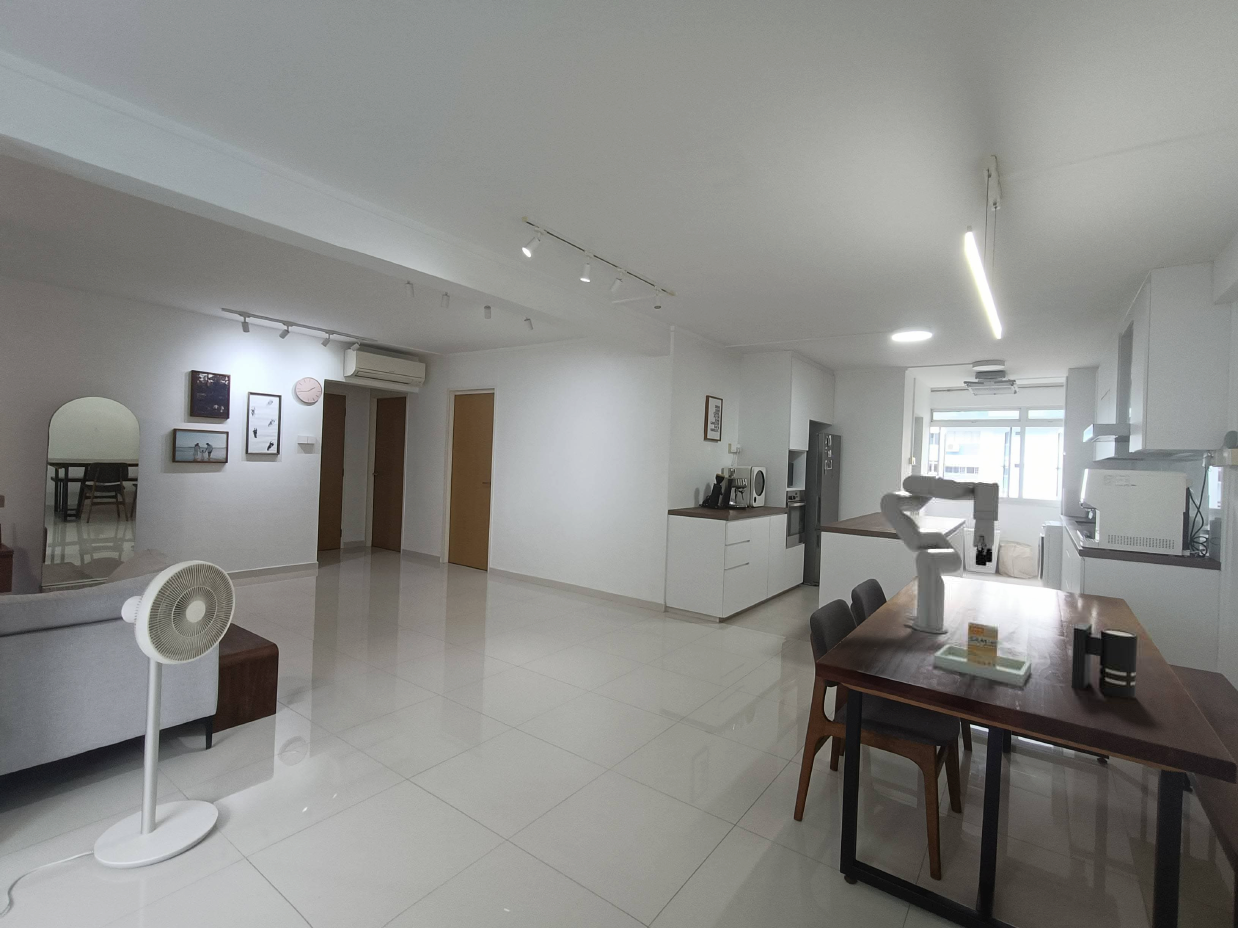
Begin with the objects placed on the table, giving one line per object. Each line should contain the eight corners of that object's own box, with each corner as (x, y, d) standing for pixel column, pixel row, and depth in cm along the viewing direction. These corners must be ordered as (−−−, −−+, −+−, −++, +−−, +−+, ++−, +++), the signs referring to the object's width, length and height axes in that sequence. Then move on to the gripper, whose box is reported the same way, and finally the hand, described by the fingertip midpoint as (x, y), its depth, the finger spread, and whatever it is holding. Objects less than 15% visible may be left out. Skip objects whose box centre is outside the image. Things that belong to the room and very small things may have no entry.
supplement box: (966, 665, 189) (967, 624, 189) (966, 660, 193) (968, 621, 193) (996, 670, 185) (998, 629, 184) (996, 666, 189) (997, 625, 188)
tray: (933, 665, 191) (934, 654, 191) (946, 654, 203) (947, 643, 203) (1022, 686, 175) (1022, 674, 175) (1030, 672, 186) (1031, 661, 186)
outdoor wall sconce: (1132, 702, 165) (1134, 639, 165) (1071, 687, 175) (1073, 627, 175) (1137, 693, 172) (1139, 632, 171) (1078, 679, 182) (1080, 621, 182)
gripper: (978, 513, 219) (977, 559, 219) (967, 516, 206) (966, 565, 206) (1002, 515, 213) (1001, 562, 214) (992, 518, 201) (991, 568, 201)
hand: (983, 563), depth 210 cm, fingers open, 9 cm apart
